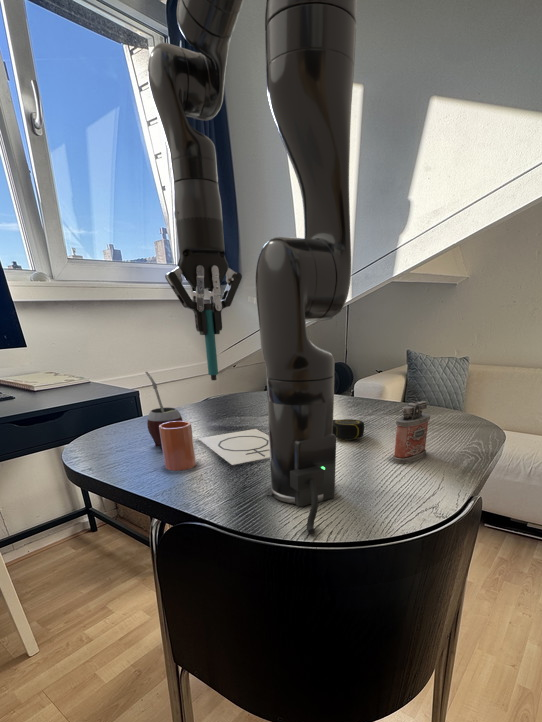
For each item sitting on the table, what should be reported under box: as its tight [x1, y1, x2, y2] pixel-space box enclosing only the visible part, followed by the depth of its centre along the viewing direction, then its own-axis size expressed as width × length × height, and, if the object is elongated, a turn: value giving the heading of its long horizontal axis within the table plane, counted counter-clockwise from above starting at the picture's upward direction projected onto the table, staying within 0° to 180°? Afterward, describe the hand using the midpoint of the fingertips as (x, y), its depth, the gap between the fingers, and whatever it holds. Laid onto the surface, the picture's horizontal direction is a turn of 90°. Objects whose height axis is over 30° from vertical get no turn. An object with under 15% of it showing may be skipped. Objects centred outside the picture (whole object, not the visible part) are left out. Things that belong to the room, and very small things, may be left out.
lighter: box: [392, 400, 431, 464], centre depth 74 cm, size 8×3×10 cm, turn 129°
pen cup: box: [159, 420, 197, 472], centre depth 73 cm, size 5×5×8 cm
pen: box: [203, 302, 219, 381], centre depth 74 cm, size 2×2×13 cm
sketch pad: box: [197, 428, 270, 466], centre depth 85 cm, size 20×14×1 cm
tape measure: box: [333, 418, 365, 441], centre depth 87 cm, size 7×7×4 cm
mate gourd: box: [145, 371, 184, 452], centre depth 83 cm, size 8×8×15 cm
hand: (209, 334), depth 73 cm, fingers closed on pen, 2 cm apart
